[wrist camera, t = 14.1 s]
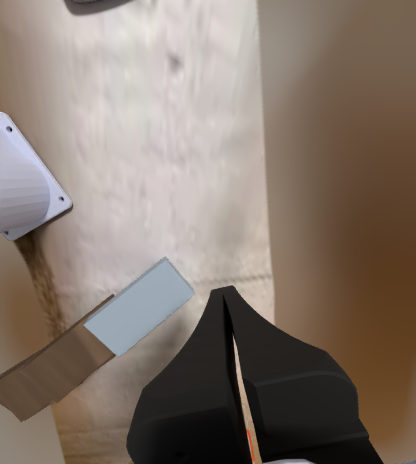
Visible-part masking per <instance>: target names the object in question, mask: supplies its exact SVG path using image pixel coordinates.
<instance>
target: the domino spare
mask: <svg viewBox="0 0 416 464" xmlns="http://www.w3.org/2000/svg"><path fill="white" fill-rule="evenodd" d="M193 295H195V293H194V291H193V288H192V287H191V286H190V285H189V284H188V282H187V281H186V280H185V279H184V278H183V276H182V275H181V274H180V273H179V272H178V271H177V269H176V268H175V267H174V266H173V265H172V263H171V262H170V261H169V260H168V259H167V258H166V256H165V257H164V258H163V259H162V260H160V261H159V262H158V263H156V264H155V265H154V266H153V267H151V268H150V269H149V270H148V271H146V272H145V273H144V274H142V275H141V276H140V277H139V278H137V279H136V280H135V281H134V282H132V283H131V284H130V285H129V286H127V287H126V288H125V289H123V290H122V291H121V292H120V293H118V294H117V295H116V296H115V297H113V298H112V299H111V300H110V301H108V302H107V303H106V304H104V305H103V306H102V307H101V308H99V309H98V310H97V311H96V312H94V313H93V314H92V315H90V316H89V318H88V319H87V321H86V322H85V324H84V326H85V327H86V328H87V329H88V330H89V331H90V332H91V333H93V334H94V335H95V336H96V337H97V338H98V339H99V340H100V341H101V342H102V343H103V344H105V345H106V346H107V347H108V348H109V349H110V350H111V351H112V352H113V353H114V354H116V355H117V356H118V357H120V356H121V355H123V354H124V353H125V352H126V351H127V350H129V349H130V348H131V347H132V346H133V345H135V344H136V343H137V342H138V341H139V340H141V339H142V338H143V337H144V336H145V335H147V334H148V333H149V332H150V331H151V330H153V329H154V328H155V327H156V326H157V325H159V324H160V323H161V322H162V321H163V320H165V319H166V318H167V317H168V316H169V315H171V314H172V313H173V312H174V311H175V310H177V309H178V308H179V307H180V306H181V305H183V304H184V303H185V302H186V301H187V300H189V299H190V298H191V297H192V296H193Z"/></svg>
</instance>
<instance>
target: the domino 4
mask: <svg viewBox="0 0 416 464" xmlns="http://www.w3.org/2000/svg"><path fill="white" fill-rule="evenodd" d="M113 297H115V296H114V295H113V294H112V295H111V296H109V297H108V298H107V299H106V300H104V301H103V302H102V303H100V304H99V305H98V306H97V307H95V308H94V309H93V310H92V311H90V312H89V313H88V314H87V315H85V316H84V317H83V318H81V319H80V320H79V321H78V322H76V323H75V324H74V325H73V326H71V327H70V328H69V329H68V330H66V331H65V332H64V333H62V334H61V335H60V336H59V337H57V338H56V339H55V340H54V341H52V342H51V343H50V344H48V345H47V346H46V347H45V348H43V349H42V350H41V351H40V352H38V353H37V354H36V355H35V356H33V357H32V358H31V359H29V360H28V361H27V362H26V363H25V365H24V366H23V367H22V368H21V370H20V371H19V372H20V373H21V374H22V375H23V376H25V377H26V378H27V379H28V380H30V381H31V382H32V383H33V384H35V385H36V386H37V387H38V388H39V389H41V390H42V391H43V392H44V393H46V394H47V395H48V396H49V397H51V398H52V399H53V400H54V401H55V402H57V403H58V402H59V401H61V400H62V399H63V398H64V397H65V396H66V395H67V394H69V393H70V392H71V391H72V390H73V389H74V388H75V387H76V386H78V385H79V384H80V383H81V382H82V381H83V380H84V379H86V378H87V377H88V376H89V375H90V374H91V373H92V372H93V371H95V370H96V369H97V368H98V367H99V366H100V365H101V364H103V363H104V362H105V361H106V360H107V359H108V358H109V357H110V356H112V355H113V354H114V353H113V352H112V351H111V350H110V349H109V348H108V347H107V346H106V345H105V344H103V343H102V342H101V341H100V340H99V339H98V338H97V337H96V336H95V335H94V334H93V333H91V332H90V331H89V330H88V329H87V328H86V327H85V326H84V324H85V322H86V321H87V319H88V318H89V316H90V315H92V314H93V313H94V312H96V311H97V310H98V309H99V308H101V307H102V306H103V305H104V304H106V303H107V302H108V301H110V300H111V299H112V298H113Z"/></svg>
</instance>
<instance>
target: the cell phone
mask: <svg viewBox="0 0 416 464" xmlns="http://www.w3.org/2000/svg"><path fill="white" fill-rule="evenodd" d="M72 1H74V2H76V3H89V2H94V1H98V0H72Z"/></svg>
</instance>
